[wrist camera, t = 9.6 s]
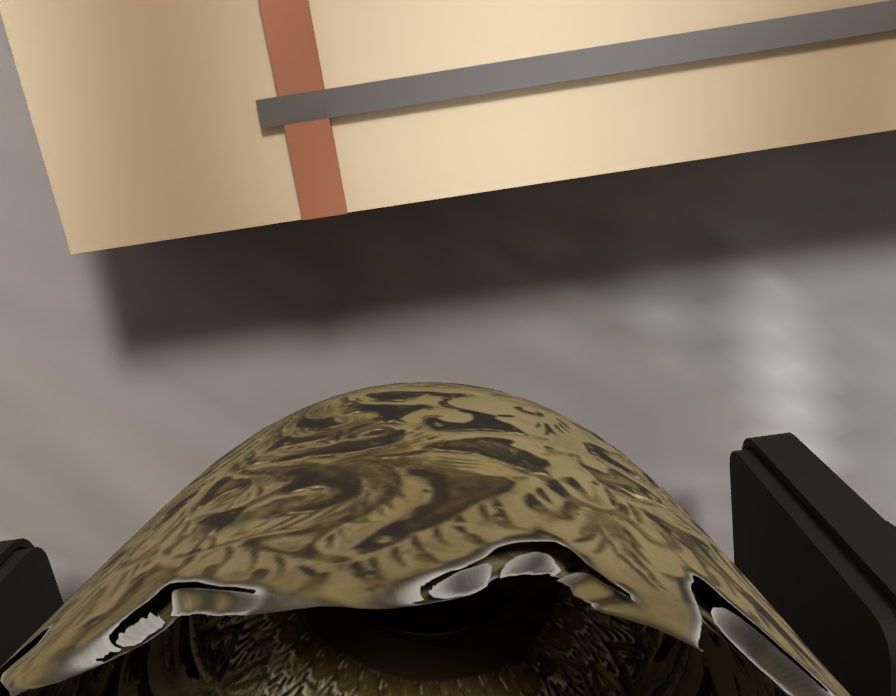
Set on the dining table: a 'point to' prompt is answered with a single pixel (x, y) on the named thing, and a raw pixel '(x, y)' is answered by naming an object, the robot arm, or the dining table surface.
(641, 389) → the dining table surface
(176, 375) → the dining table surface
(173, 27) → the maple board
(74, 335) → the dining table surface
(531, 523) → the cup
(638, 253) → the dining table surface
